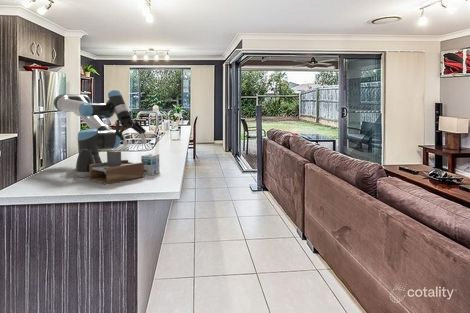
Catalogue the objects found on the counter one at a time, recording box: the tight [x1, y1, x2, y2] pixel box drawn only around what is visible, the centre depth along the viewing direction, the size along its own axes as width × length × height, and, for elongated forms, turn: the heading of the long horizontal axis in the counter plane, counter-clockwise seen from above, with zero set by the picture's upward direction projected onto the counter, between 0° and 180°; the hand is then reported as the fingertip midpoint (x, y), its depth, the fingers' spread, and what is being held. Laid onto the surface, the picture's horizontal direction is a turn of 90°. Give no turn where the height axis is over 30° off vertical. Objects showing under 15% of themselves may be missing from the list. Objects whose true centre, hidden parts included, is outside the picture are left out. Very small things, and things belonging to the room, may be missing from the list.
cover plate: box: [92, 149, 124, 172], centre depth 202 cm, size 13×18×9 cm
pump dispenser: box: [75, 149, 95, 179], centre depth 209 cm, size 10×10×15 cm
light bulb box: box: [140, 153, 160, 176], centre depth 220 cm, size 11×7×11 cm, turn 168°
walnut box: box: [89, 159, 145, 185], centre depth 204 cm, size 16×22×8 cm
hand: (136, 144), depth 227 cm, fingers open, 13 cm apart
